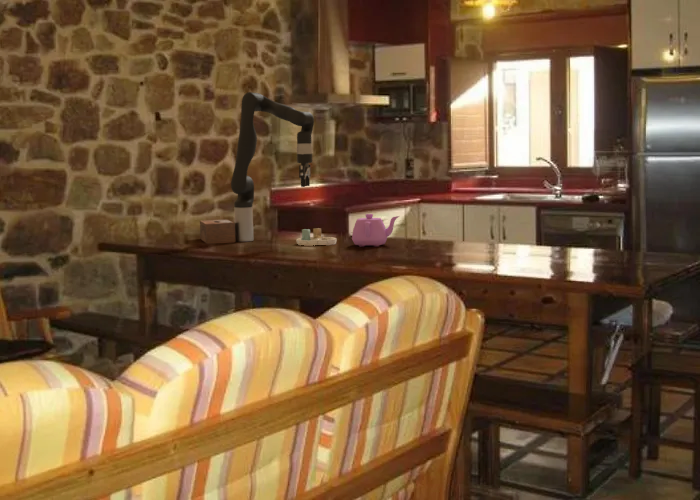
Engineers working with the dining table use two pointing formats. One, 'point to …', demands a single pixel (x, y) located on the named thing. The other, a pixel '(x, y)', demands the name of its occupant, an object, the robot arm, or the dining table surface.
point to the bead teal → (306, 234)
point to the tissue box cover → (217, 231)
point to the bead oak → (317, 233)
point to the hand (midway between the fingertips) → (305, 186)
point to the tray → (317, 241)
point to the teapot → (371, 231)
